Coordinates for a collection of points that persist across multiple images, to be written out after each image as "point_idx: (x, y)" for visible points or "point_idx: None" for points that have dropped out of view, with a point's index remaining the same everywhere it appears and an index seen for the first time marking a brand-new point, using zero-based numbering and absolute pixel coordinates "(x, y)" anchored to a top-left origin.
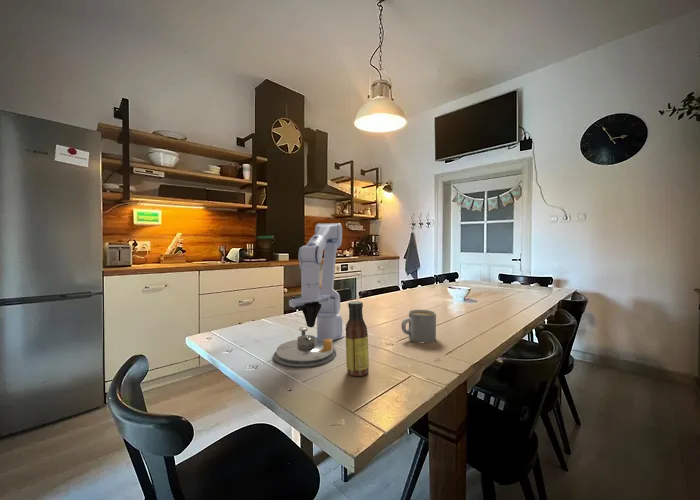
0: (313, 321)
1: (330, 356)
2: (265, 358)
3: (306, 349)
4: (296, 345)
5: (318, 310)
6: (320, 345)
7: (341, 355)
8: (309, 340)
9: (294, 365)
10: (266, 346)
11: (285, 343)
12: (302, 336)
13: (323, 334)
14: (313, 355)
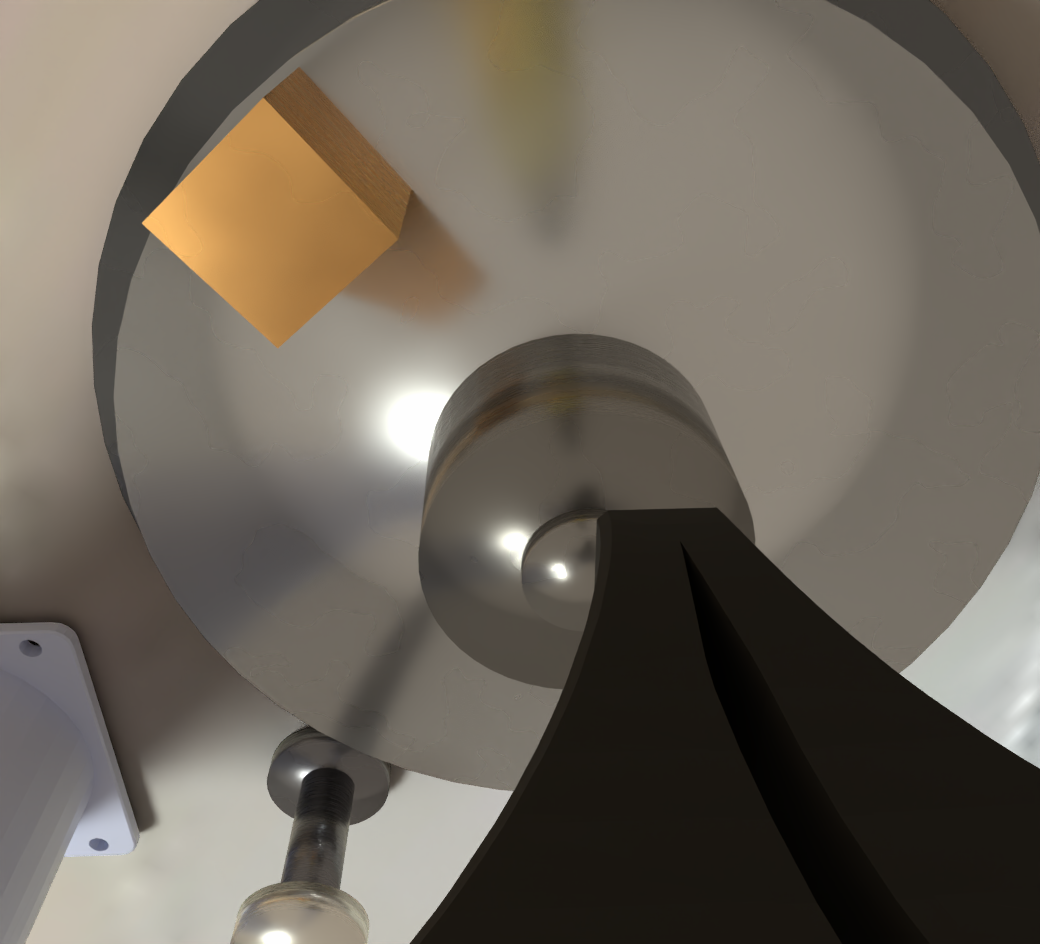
0: (683, 583)
1: None
2: (1000, 623)
3: (661, 363)
4: None
5: (551, 854)
6: (325, 402)
7: (99, 6)
8: (631, 416)
9: (1021, 127)
10: None
11: None
12: None
13: (14, 754)
14: (734, 64)
